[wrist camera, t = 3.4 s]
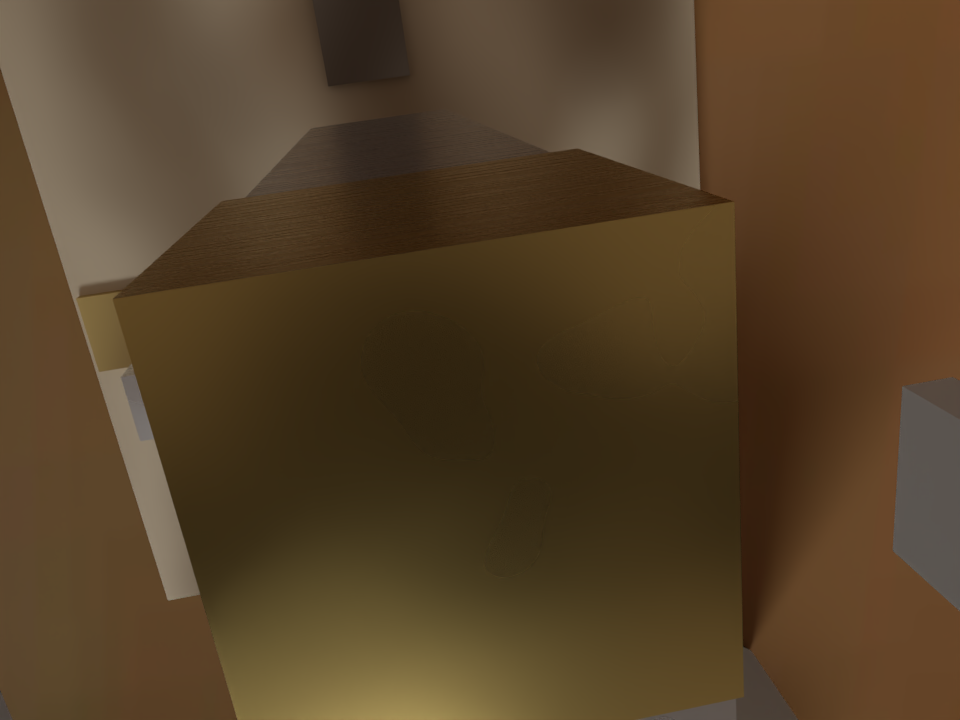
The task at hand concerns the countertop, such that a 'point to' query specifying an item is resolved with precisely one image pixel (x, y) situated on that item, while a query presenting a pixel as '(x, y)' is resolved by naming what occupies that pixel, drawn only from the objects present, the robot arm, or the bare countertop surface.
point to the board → (300, 123)
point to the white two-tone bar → (453, 430)
